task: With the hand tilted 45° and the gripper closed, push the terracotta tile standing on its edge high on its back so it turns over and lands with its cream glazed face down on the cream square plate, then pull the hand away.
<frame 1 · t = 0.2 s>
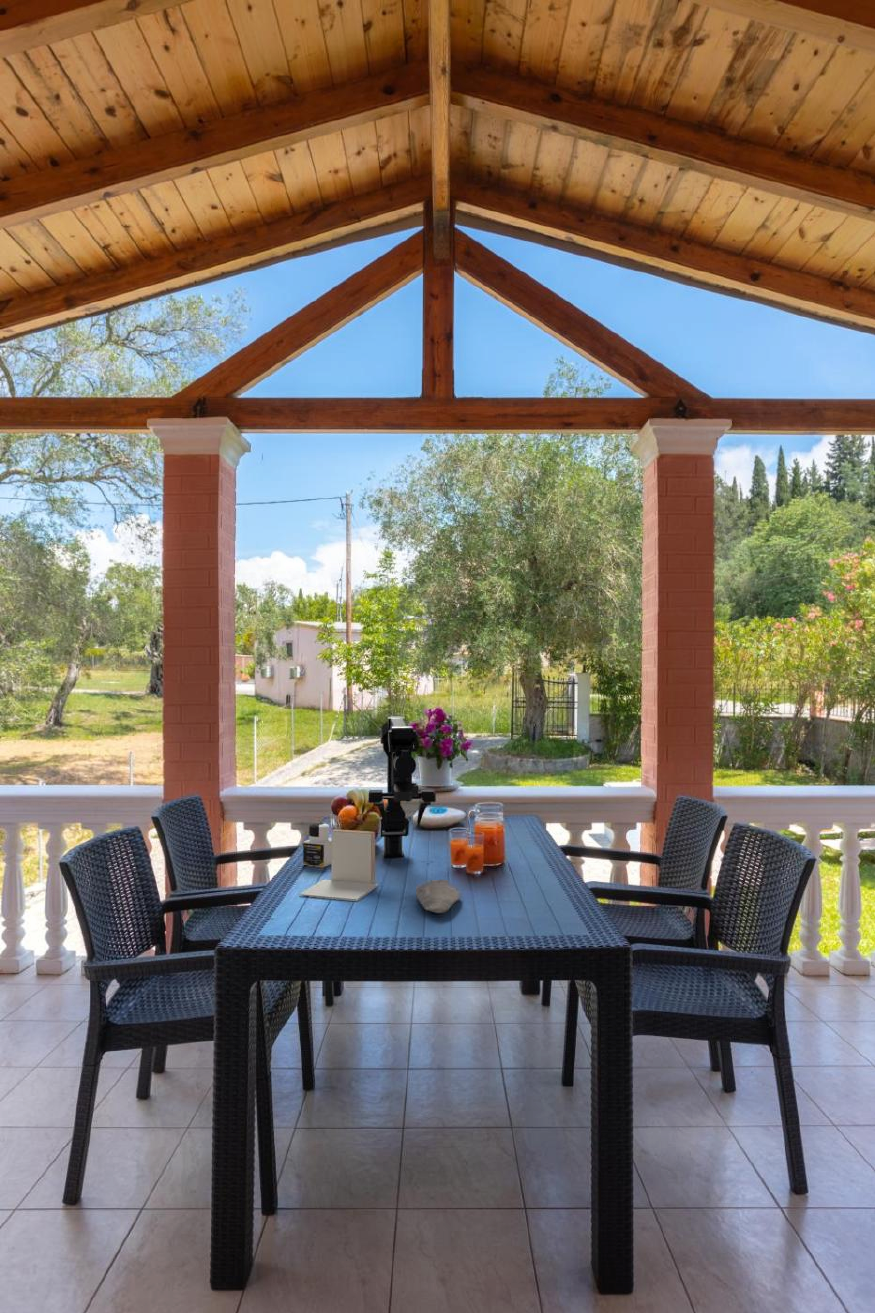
hand: (401, 826, 231), 14 cm above the table, tool pointing down, fingers open, 9 cm apart
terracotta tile: (352, 882, 226), on the table
cream square plate: (339, 891, 217), on the table
medicine bottle: (319, 864, 247), on the table
stone tool: (437, 906, 205), on the table
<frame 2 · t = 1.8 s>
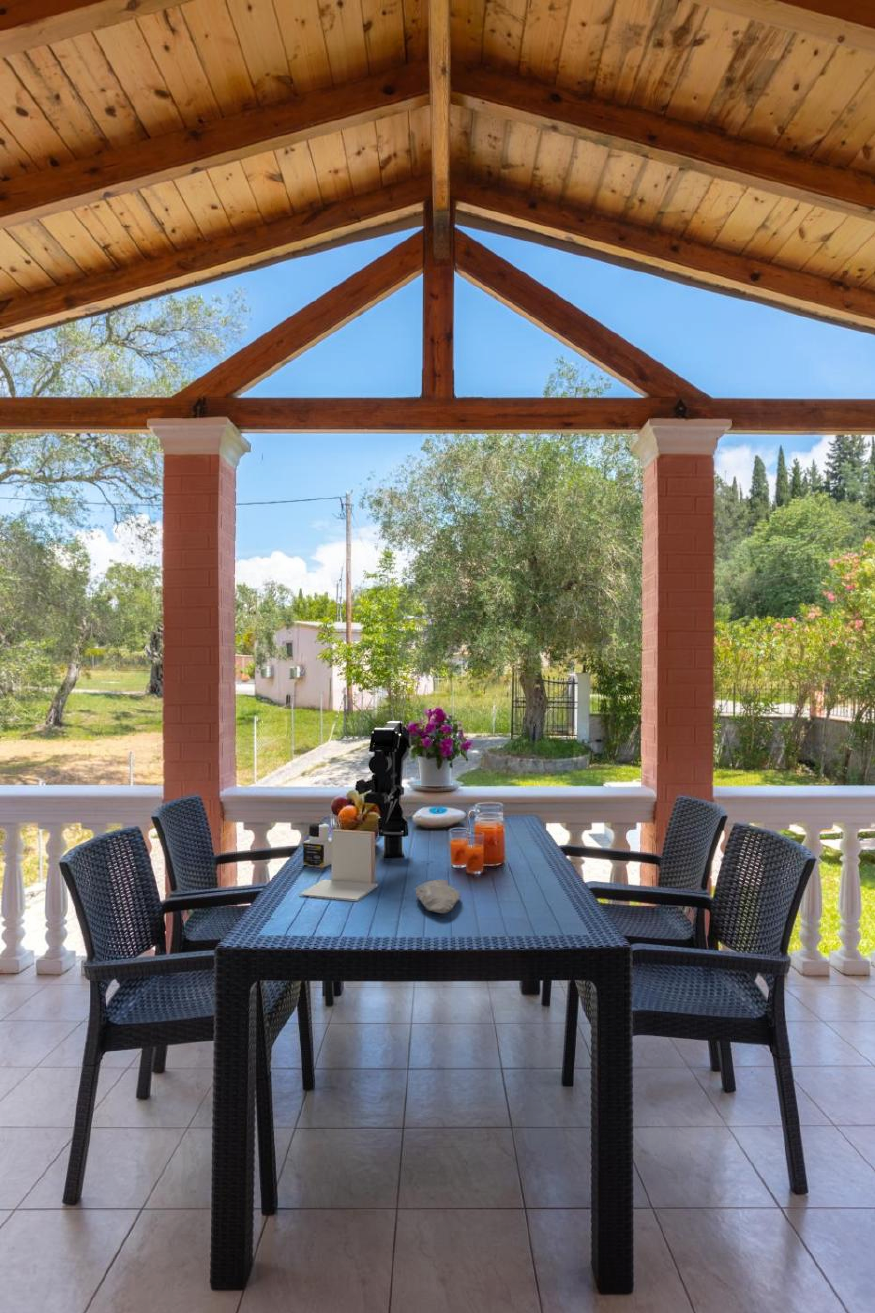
hand: (384, 823, 243), 13 cm above the table, tool pointing down, fingers closed
nothing on the table moved.
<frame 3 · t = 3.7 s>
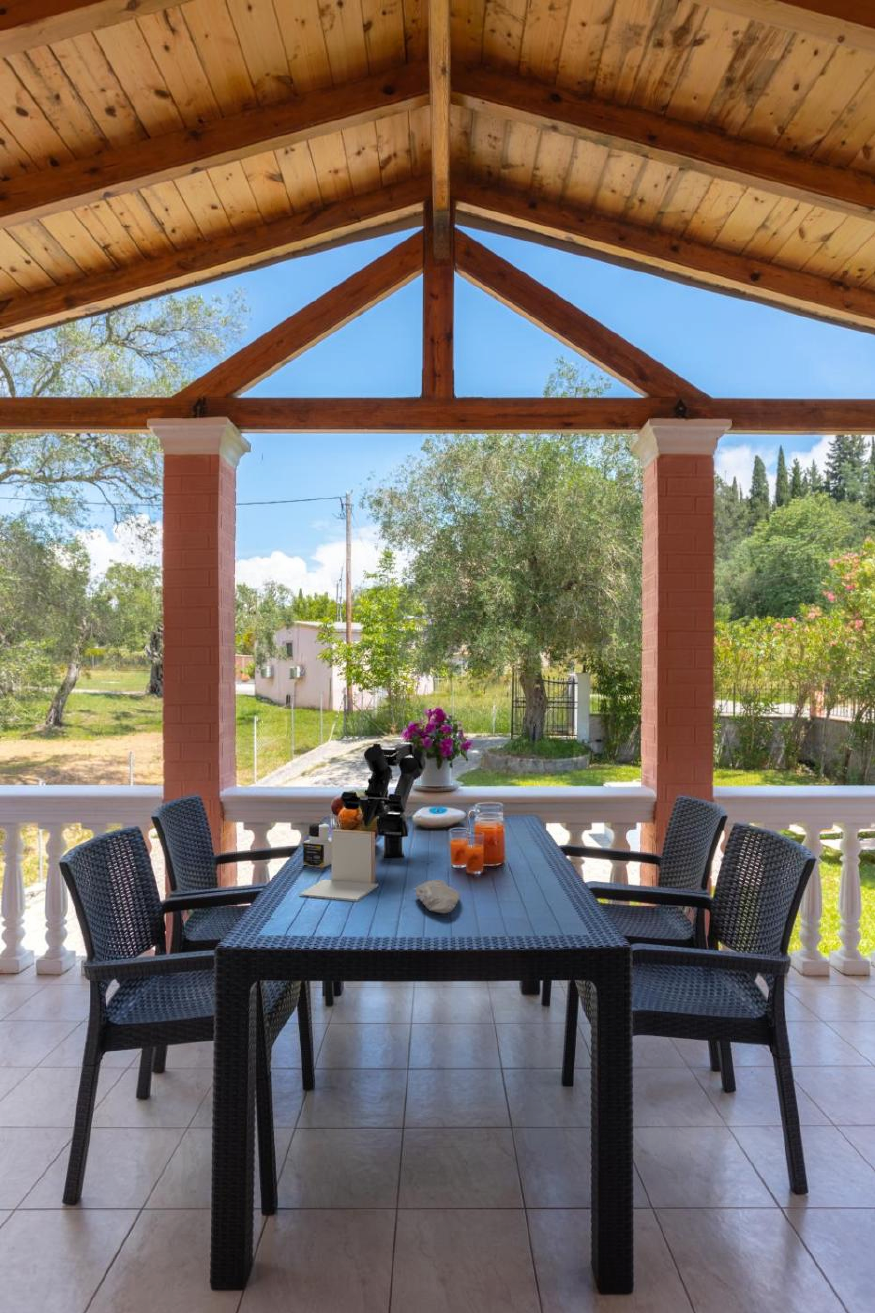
hand: (365, 826, 236), 14 cm above the table, tool tilted 45°, fingers closed
nothing on the table moved.
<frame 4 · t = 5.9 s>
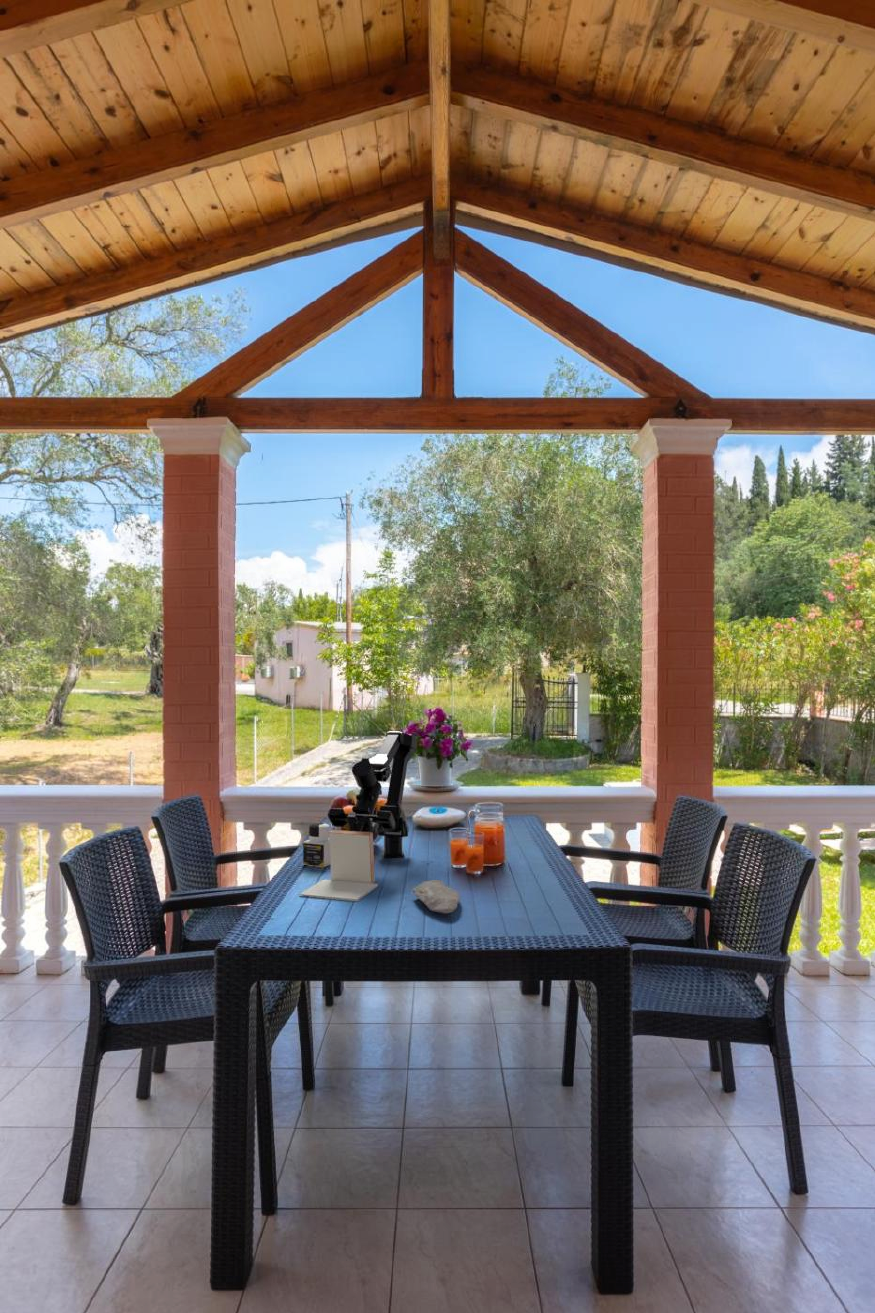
hand: (353, 844, 227), 10 cm above the table, tool tilted 45°, fingers closed
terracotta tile: (352, 881, 226), on the table, tilted 7°
everything else where it was.
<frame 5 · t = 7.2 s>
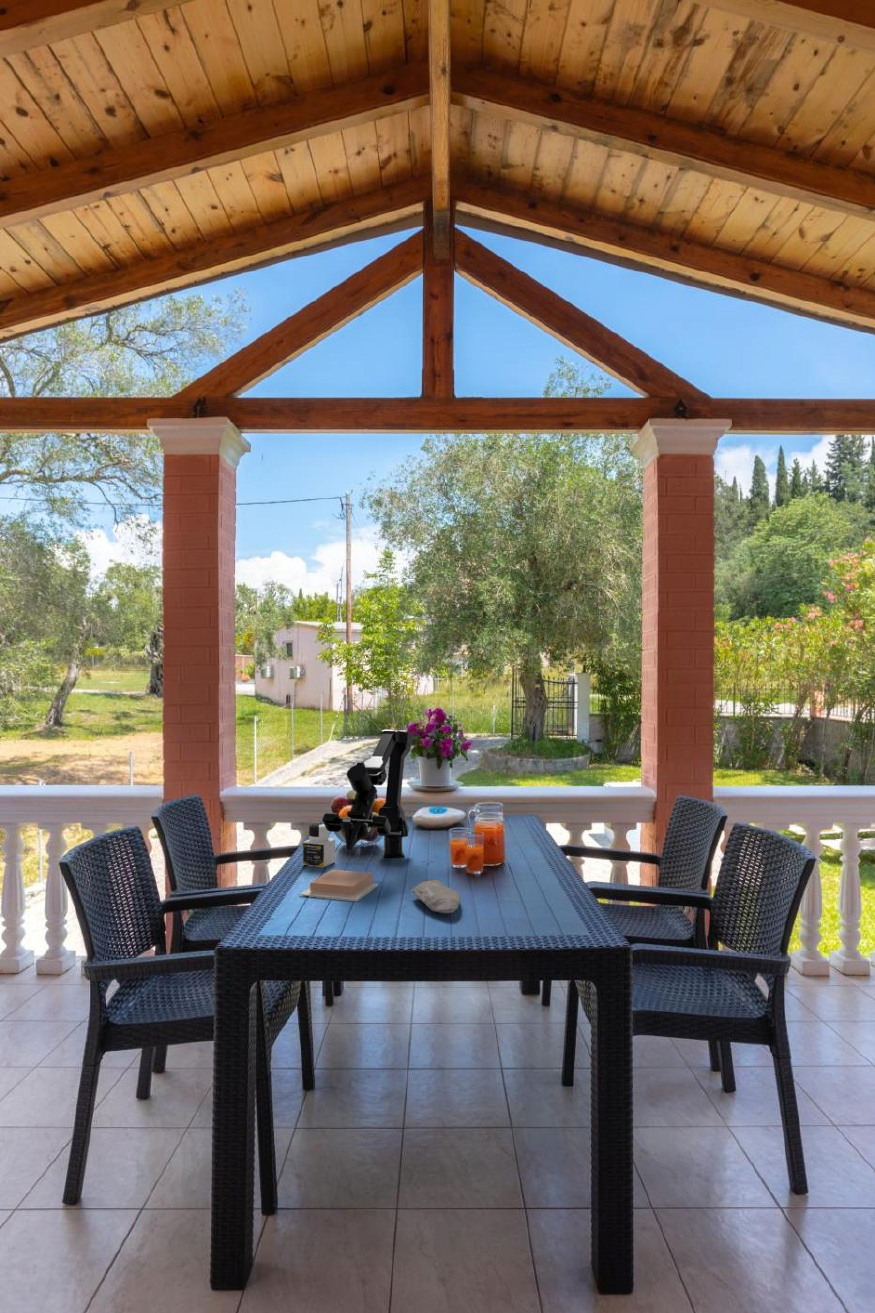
hand: (348, 849, 223), 10 cm above the table, tool tilted 45°, fingers closed
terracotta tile: (352, 875, 226), point 2 cm above the table, tilted 90°, touching cream square plate
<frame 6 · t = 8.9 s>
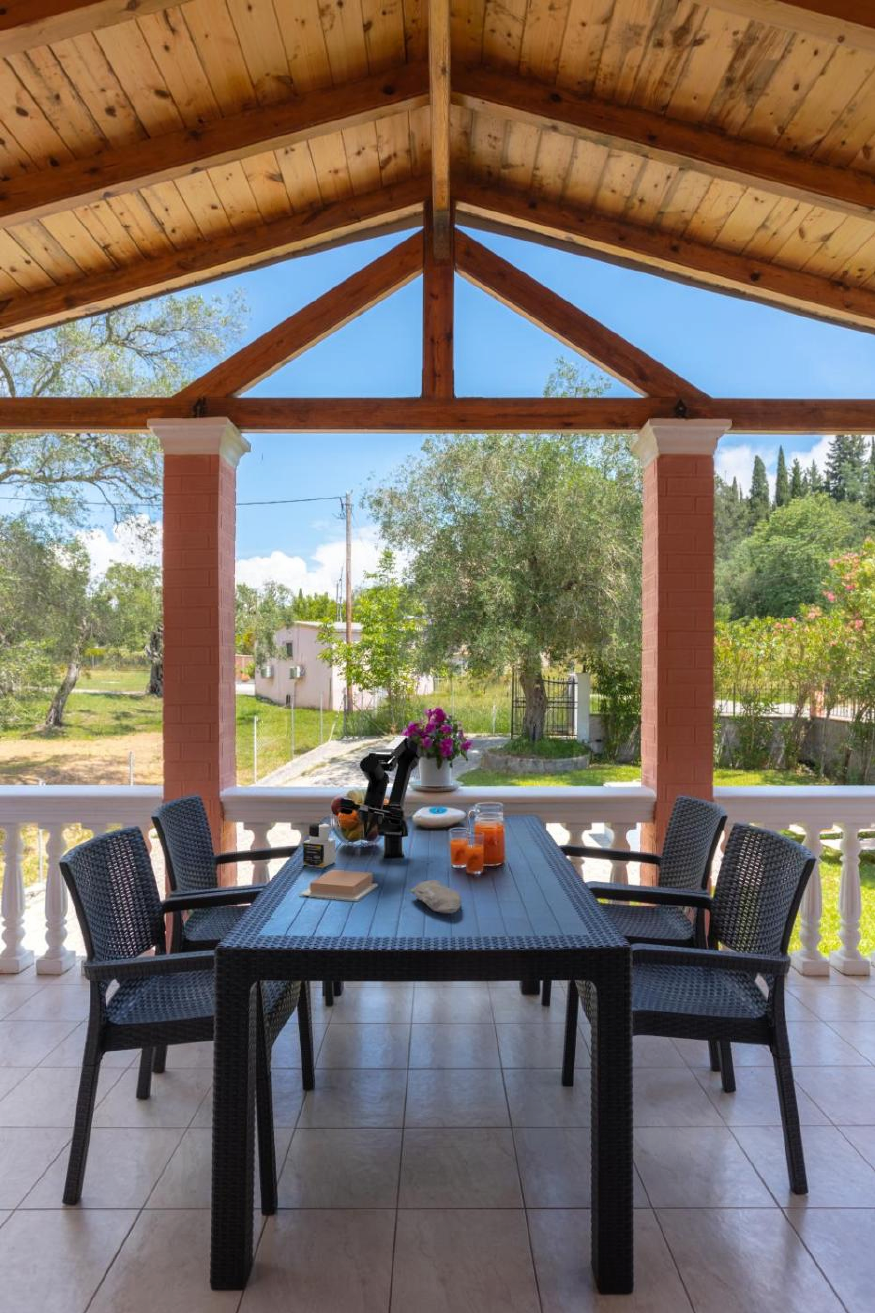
hand: (365, 838, 234), 10 cm above the table, tool tilted 40°, fingers closed
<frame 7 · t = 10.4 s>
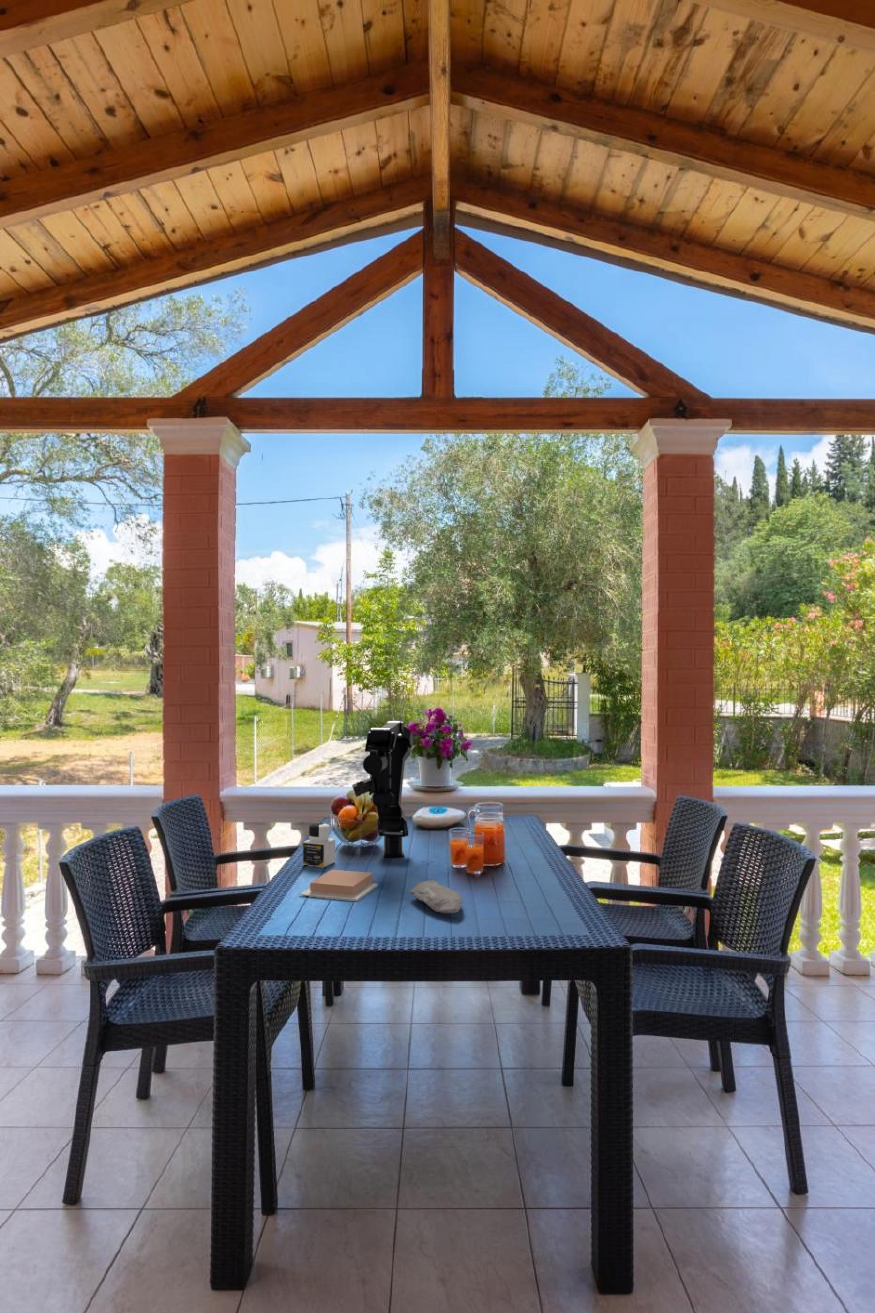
hand: (381, 823, 242), 13 cm above the table, tool pointing down, fingers closed
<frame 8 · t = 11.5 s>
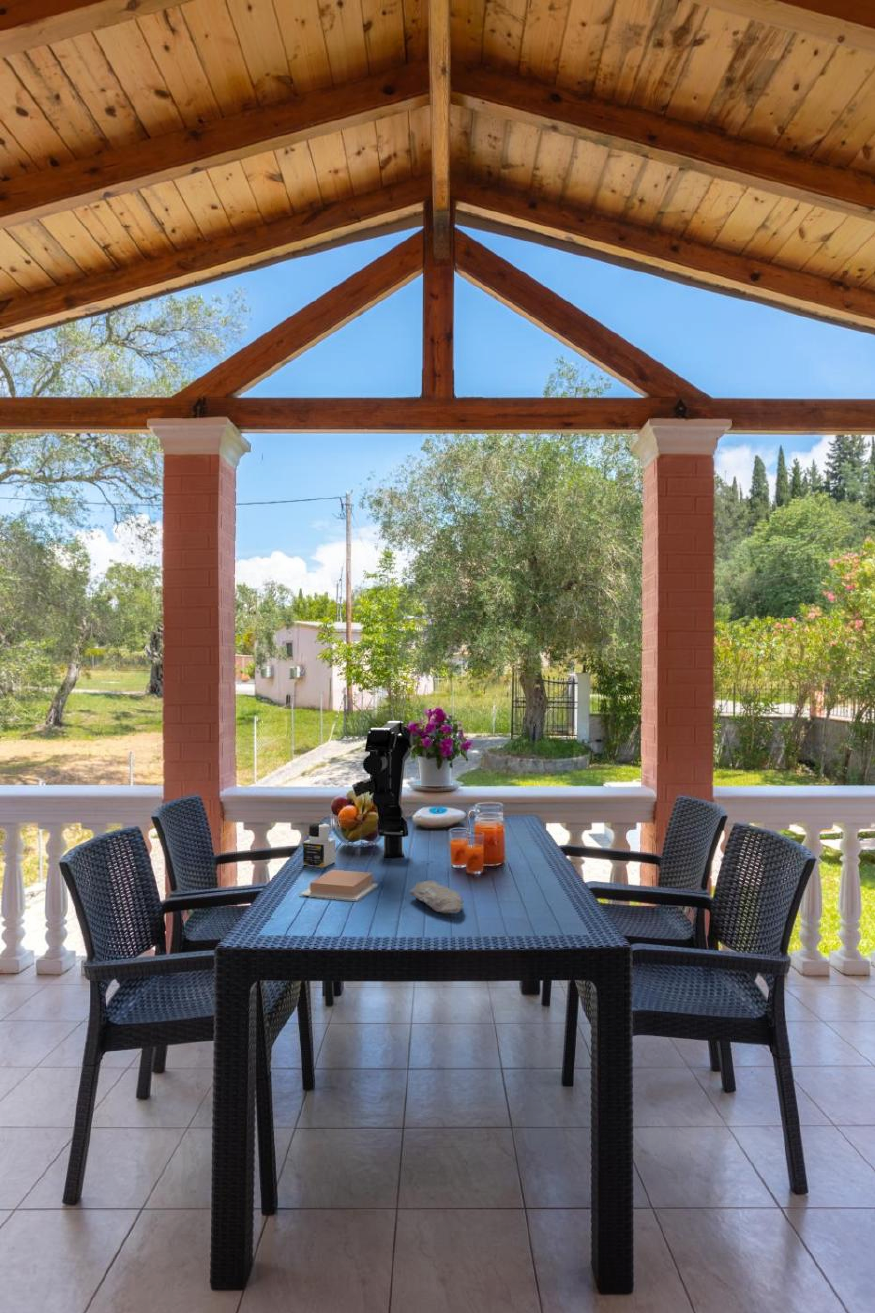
hand: (381, 823, 242), 13 cm above the table, tool pointing down, fingers closed
at the end: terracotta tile tilted 90°; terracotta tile touching cream square plate; the gripper is holding nothing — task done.
